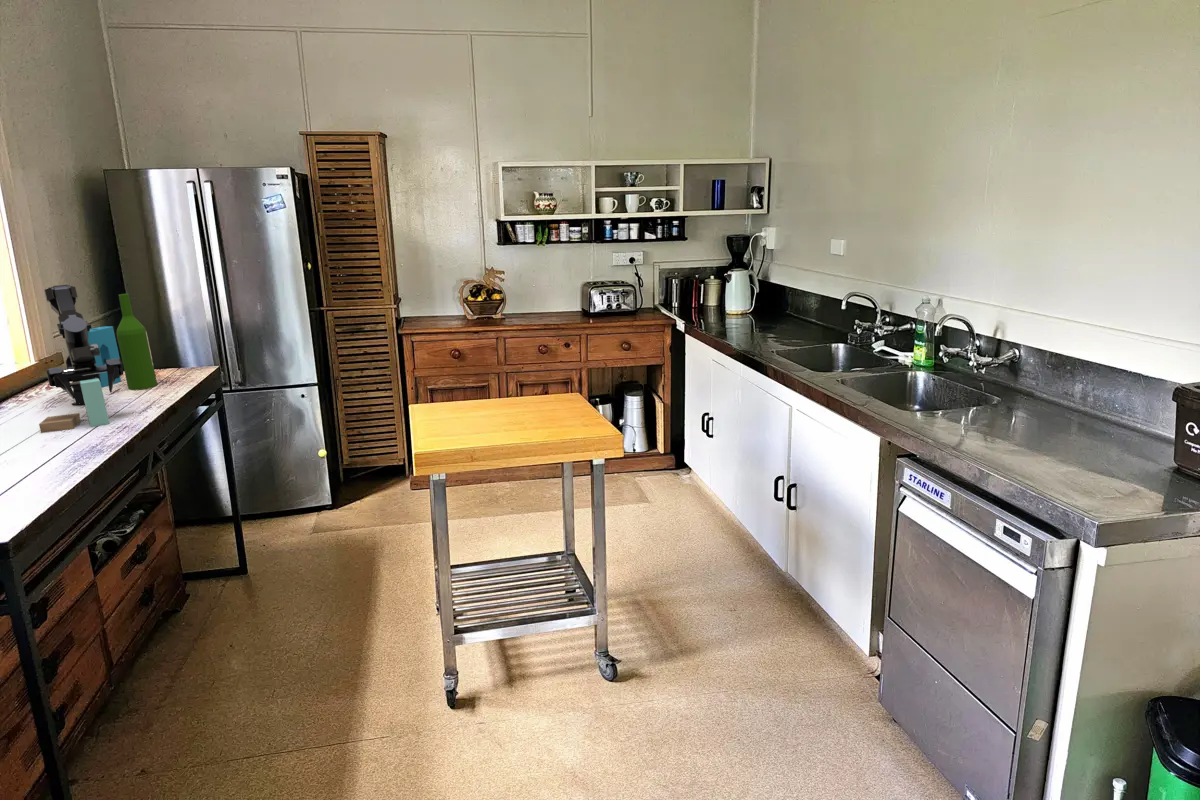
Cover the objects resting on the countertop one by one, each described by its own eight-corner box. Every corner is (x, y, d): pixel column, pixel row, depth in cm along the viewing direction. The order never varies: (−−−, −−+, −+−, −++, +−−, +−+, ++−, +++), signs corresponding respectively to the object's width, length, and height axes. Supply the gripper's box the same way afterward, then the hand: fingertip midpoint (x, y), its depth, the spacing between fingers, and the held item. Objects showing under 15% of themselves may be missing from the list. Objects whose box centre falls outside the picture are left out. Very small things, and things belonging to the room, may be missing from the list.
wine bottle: (162, 385, 271) (143, 292, 262) (136, 391, 264) (116, 296, 255) (149, 382, 276) (130, 292, 267) (123, 388, 269) (102, 295, 260)
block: (97, 389, 270) (84, 332, 265) (86, 388, 271) (73, 332, 266) (125, 380, 281) (114, 326, 276) (115, 380, 282) (103, 326, 277)
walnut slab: (50, 426, 227) (47, 416, 226) (81, 422, 230) (79, 413, 229) (41, 434, 220) (38, 424, 219) (73, 430, 222) (71, 420, 221)
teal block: (89, 423, 227) (79, 381, 223) (107, 420, 229) (98, 378, 226) (91, 427, 223) (81, 383, 220) (109, 423, 226) (99, 380, 222)
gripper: (39, 341, 219) (50, 385, 213) (114, 331, 230) (127, 373, 224) (44, 364, 227) (55, 407, 221) (117, 354, 238) (129, 394, 232)
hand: (92, 394), depth 225 cm, fingers open, 9 cm apart
